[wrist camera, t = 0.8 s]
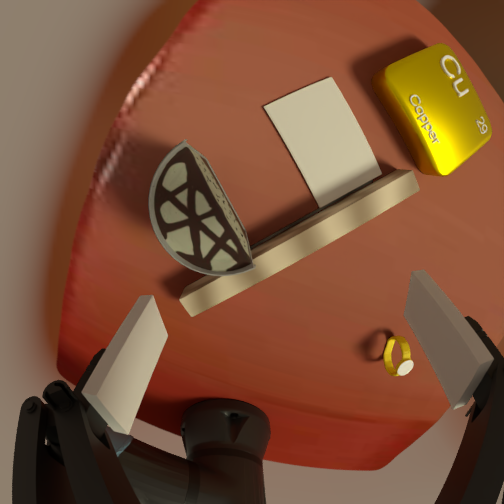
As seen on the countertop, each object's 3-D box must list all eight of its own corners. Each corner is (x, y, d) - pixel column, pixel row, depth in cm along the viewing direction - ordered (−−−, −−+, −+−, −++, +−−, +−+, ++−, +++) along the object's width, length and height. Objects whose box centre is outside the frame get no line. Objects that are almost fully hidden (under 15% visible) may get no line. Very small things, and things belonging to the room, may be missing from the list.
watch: (385, 330, 37) (403, 350, 31) (400, 329, 37) (419, 347, 31) (376, 363, 38) (392, 385, 32) (391, 361, 38) (407, 382, 33)
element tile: (363, 79, 27) (380, 68, 23) (430, 47, 25) (448, 38, 21) (421, 180, 31) (443, 183, 26) (477, 135, 29) (498, 134, 24)
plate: (319, 207, 31) (320, 207, 31) (263, 107, 28) (263, 106, 27) (381, 173, 30) (382, 173, 30) (330, 77, 27) (331, 76, 26)
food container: (153, 174, 29) (116, 177, 20) (200, 146, 29) (181, 135, 19) (205, 266, 33) (192, 305, 23) (252, 242, 32) (257, 274, 23)
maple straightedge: (196, 303, 34) (191, 317, 31) (182, 284, 33) (176, 296, 30) (404, 187, 31) (419, 190, 27) (396, 165, 30) (411, 166, 27)
